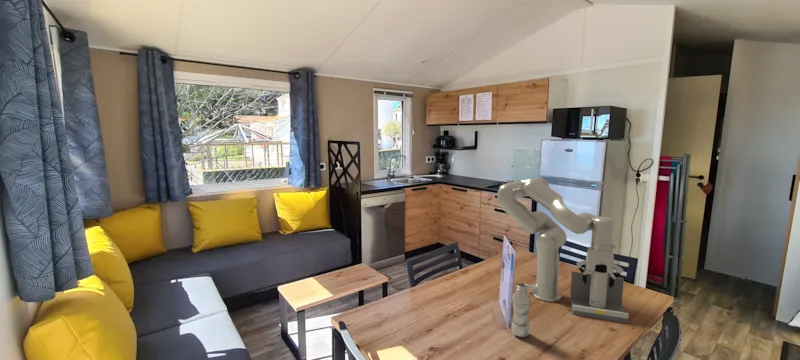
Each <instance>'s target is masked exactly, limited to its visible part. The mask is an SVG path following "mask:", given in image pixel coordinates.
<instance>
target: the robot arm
mask: <svg viewBox="0 0 800 360" xmlns="http://www.w3.org/2000/svg"><path fill="white" fill-rule="evenodd" d="M496 194H497V196H496V198H497V203H498V204H499V206H500V207H501V209H502V210H503V211H504V212H505V213H506V214H508V215H509V216H510V217H511V218H512V219H513V221H515V223H517V225H519V227H521V228H522V229H523V230H524V231H525V232H526V233H527V234H530V235H533V234H534V235H535V234H537V233H539V234H538V235H537V237H536V241H535V244H536V245H535V247H536V276H535V277H536V278H535V279H536V281H535V284H530V283H529V284H528V283H525V284H526V285H527V289H528V291H532V292H531V293H532V296H533V297H534V298H536V299H537V300H540V301H544V302H549V303H550V302H551V303H552V302H558V301H560V300H561V299H562V295H561V293H560V292H559V276H560V275H559V272H560V254H559V248H560V247H562V246H563V245H565V243H566V242H567V238H568V237H567V233H566V232H565V230H564V229H563V228H562V227H561V226H560V225H562V226H563V227H564V228H566V229H567V230H569V231H570V232H571V233H574V234H577V235H583V234H585V233H586V232H588V231H591V241H590V246H588V248H587V251H586V256H585V259H584V260H581V261H578V262H576V263H575V264H576V266H577V268H578V270H579V271H580V273H582V274H583V277H582V281H584V284H586V283H587V273H588V272H594V270H595V266H596V265H605V266H607V274H608V275H609V276H610V279H609V286H610V287H611V288H612V286H614V281H615V279H616V278H617V277H620V276H621V274H623V272H624V269H623V268H622V267H620V266H618V265H617V264H615V259H614V258H615V257H614V250H613V249H616V247H617V245H616V244H613V236H614V225H615V222H614V221H615V220H614V219H613V218H611V217H609V216H599V215H595V214H592V213H587V212H581V213H579V214H577V213H575V212H574V211H572V210H571V209H569V208H568V207H567V206H566V205H565V203H564V200H563V196H562V195H561V194H560V193H558V192H556V191H555V190H554V189H552V188H550V185H549V183H548V181H547V180H546V179H545V178H543V177H535V178H528V179H521V180H515V181H510V182H506V183H504V184H502V185H501V186H499V189H498V190H497V193H496ZM524 197H530V199H532V200H534V202H537V203H538V204H539V205H541V206H542V207H543V208H545V209H546V210H548V212H550V214H551V216H552V217H553V218H554V219H555V220H556V221H557V222H558V223H559V224H560V225H559V224H558V223H557V222H555V221H554V220H553V219H552V218H551V217H550V216H549V215H548V214H547V213H544V212H543V211H538V210H537V211H533V212H532V211H531V210H530V209H529V208H528V207H527V206H526V205H524V204H523V203H522V202H521V201H518V200H517V199H518V198H524ZM583 265H584V266H585V268H583V267H582V266H583ZM614 269H616V270H617V271H616V272H614V271H615V270H614Z"/></svg>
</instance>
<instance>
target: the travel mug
mask: <svg viewBox="0 0 800 360" xmlns="http://www.w3.org/2000/svg"><path fill="white" fill-rule="evenodd" d="M608 276H609V274H607V266H605V265H596V266H595V270H594V272H591V281H590V295H589V306H590V307H591V308H598V309H605V307H606V295H607V283H608Z"/></svg>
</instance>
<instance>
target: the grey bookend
mask: <svg viewBox="0 0 800 360" xmlns="http://www.w3.org/2000/svg"><path fill="white" fill-rule="evenodd" d="M570 277H571V281H570V296H569V298H570V299H569V302H570V306H571V312H572V315H575V316H580V317H585V318H586V317H587V318H592V319H598V320H603V321H604V320H605V321H610V322H618V323H622V324H623V323H624V324H629V313H628V312H626V311H625V310H624V309H625V308H624V307H623V305H622V304H623V293H624V291H623V290H624V281H625V280H624V279H625V278H624V277H620V276H618V277H617V278H616V279H615V281H614V286H612V288H611V287H610V286H609V279H610V275H608V283H607V295H606V307H605V309H598V308H591V307H590V306H589V295H590V281H591V274H587V283H586V284H584V281H582V277H583V274H582V272H579V271H578V272H577V271H571V276H570Z"/></svg>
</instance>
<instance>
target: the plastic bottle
mask: <svg viewBox="0 0 800 360" xmlns="http://www.w3.org/2000/svg"><path fill="white" fill-rule="evenodd" d="M526 284H527V283H523V282H518V283H516V290H515V292H514V293H513V294H512V306H513V315H512V316H513V317H512V323H511V331H512V333H513V335H514V336H516V337H519V338H527V337H528V336H529V334H530V331H531V329H530V328H531V327H530V324H529V312H530V304H531V297H530V294H529V293H528V292H527V291H528V288H527V285H526Z"/></svg>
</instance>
